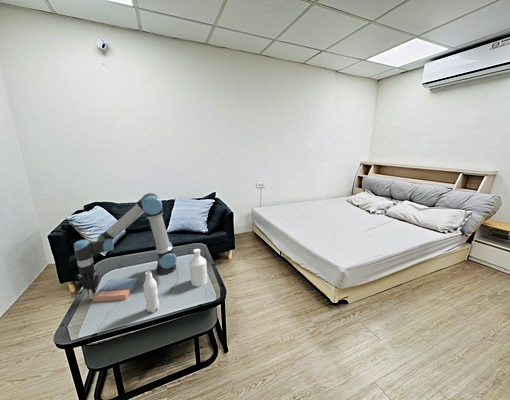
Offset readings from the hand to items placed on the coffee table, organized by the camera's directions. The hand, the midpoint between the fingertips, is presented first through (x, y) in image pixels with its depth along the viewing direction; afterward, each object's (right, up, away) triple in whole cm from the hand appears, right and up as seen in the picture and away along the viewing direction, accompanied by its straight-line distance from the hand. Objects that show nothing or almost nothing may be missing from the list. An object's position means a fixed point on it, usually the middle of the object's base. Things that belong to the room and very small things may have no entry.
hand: (92, 297), depth 139 cm
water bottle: (+44, -3, -10) cm, 45 cm away
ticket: (+11, +1, +11) cm, 15 cm away
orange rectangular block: (+12, -1, +1) cm, 12 cm away
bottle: (+65, +3, +17) cm, 67 cm away
